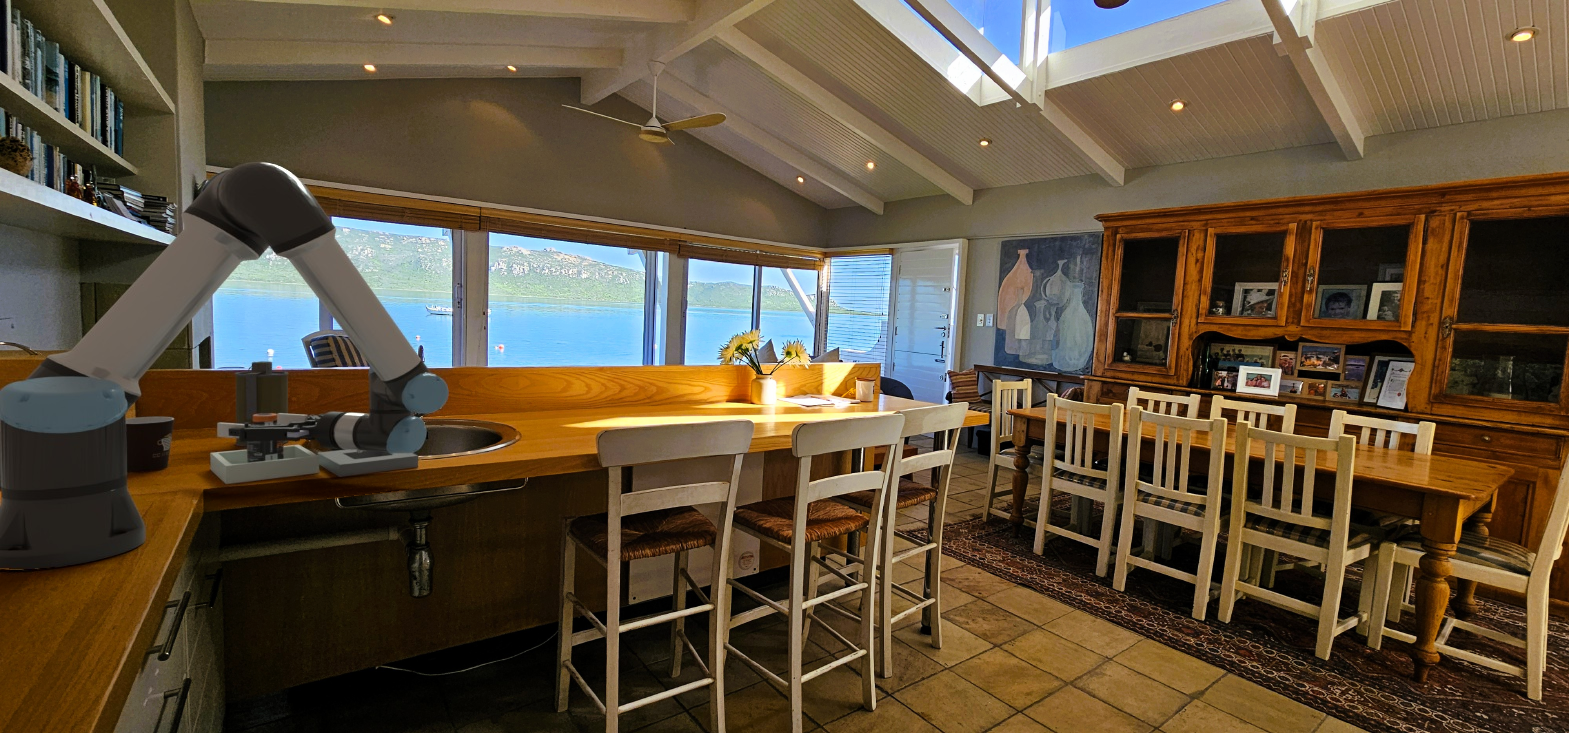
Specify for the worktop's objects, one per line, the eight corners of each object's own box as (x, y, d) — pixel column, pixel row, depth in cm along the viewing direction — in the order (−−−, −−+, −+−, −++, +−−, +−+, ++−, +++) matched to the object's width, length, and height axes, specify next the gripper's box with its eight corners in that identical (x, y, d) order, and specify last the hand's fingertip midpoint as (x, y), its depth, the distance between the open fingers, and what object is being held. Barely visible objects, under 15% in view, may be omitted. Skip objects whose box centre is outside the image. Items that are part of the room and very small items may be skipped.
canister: (247, 439, 166) (246, 359, 164) (296, 438, 169) (295, 361, 168) (225, 447, 156) (224, 363, 154) (277, 447, 159) (277, 364, 157)
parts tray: (319, 472, 137) (319, 456, 137) (226, 484, 126) (225, 466, 126) (298, 460, 147) (298, 444, 147) (210, 469, 136) (210, 452, 135)
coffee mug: (138, 475, 129) (137, 424, 128) (104, 471, 130) (102, 421, 130) (201, 463, 140) (201, 416, 139) (169, 459, 142) (168, 413, 141)
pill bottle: (284, 469, 136) (283, 415, 135) (247, 472, 132) (246, 416, 131) (283, 463, 141) (282, 411, 140) (247, 466, 137) (246, 412, 136)
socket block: (418, 466, 146) (418, 455, 146) (339, 476, 135) (339, 464, 135) (392, 455, 156) (392, 444, 156) (317, 463, 145) (317, 452, 144)
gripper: (295, 461, 122) (190, 454, 124) (388, 438, 147) (300, 432, 149) (295, 421, 121) (190, 414, 123) (388, 405, 146) (300, 399, 148)
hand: (250, 424), depth 136 cm, fingers open, 13 cm apart
